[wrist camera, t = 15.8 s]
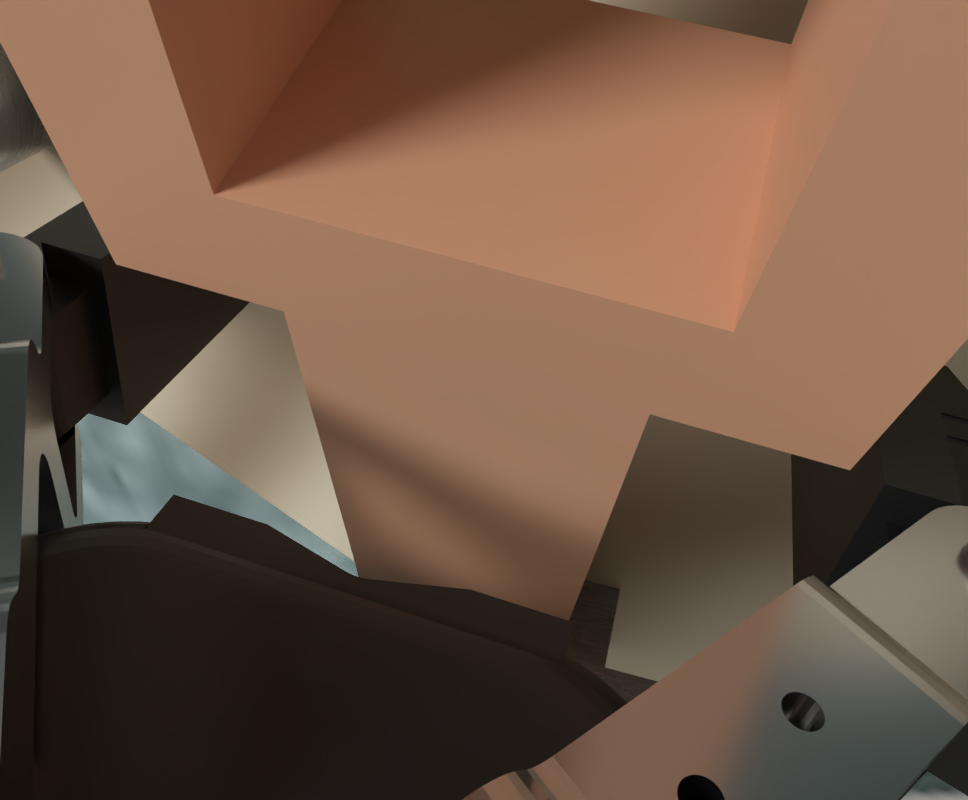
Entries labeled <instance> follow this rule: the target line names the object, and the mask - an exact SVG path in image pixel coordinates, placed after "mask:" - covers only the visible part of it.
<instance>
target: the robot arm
mask: <svg viewBox="0 0 968 800" xmlns="http://www.w3.org/2000/svg"><path fill="white" fill-rule="evenodd" d="M249 303H250V302H248V301H245V300H241V299H238V298H234V297H231V296H227V295H223V294H220V293H216V292H213V291H209V290H206V289H202V288H198V287H195V286H191V285H188V284H184V283H181V282H177V281H174V280H170V279H166V278H163V277H159V276H156V275H152V274H149V273H145V272H141V271H138V270H134V269H131V268H127V267H124V266H120V265H117V264H116V263H115V261H114V260H113V258H112V256H111V254H110V252H109V250H108V248H107V246H106V244H105V242H104V240H103V238H102V237H101V235H100V233H99V231H98V229H97V227H96V225H95V223H94V221H93V219H92V217H91V215H90V214H89V212H88V210H87V208H86V206H85V204H84V202H83V201H82V202H80V203H79V204H77V205H75V206H74V207H72V208H71V209H69V210H67V211H66V212H64V213H62V214H61V215H59V216H58V217H56V218H54V219H53V220H51V221H49V222H48V223H46V224H45V225H43V226H41V227H40V228H38V229H36V230H35V231H33V232H32V233H30V234H28V235H27V236H25V237H21V236H17V235H14V234H10V233H4V232H0V800H901V799H902V798H903V797H904V796H905V795H906V794H907V793H908V792H909V790H910V789H911V788H912V787H913V786H914V785H915V784H916V783H917V782H918V781H919V780H920V779H921V778H922V777H923V776H924V774H925V773H926V772H927V771H929V772H930V773H932V774H934V775H935V776H937V777H938V778H940V779H942V780H943V781H945V782H946V783H948V784H950V785H951V786H953V787H955V788H956V789H958V790H959V791H961V792H963V793H964V794H966V795H967V796H968V390H967V389H966V387H965V386H964V385H963V384H962V383H961V382H960V381H959V379H958V378H957V377H956V376H955V375H954V374H953V372H952V371H951V370H950V369H949V368H948V367H947V366H943V367H942V368H941V369H940V370H939V371H938V373H937V374H936V375H935V376H934V377H933V378H932V379H931V380H930V381H929V383H928V384H927V385H926V386H925V387H924V388H923V389H922V390H921V392H920V393H919V394H918V395H917V396H916V397H915V398H914V399H913V400H912V402H911V403H910V404H909V405H908V406H907V407H906V408H905V409H904V411H903V412H902V413H901V414H900V415H899V416H898V417H897V418H896V419H895V421H894V422H893V423H892V424H891V425H890V426H889V427H888V428H887V430H886V431H885V432H884V433H883V434H882V435H881V436H880V437H879V439H878V440H877V441H876V442H875V443H874V444H873V445H872V446H871V447H870V449H869V450H868V451H867V452H866V453H865V454H864V455H863V456H862V458H861V459H860V460H859V461H858V462H857V463H856V464H855V465H854V466H853V468H852V469H851V470H847V469H843V468H840V467H836V466H833V465H829V464H826V463H822V462H818V461H815V460H811V459H808V458H804V457H801V456H797V455H793V454H791V475H792V540H793V587H791V588H790V589H789V590H787V591H786V592H784V593H783V594H781V595H780V596H779V597H777V598H776V599H774V600H773V601H772V602H770V603H769V604H767V605H766V606H764V607H763V608H762V609H760V610H759V611H757V612H756V613H755V614H753V615H752V616H750V617H749V618H747V619H746V620H745V621H743V622H742V623H740V624H739V625H738V626H736V627H735V628H733V629H732V630H731V631H729V632H728V633H726V634H725V635H723V636H722V637H721V638H719V639H718V640H716V641H715V642H714V643H712V644H711V645H709V646H708V647H706V648H705V649H704V650H702V651H701V652H699V653H698V654H697V655H695V656H694V657H692V658H691V659H689V660H688V661H687V662H685V663H684V664H682V665H681V666H680V667H678V668H677V669H675V670H674V671H672V672H671V673H670V674H668V675H667V676H665V677H664V678H663V679H661V680H660V681H658V682H657V683H655V684H654V685H653V686H651V687H650V688H648V689H647V690H646V691H644V692H643V693H641V694H640V695H638V696H637V697H636V698H634V699H633V700H631V701H630V702H629V703H627V702H626V700H625V699H623V698H622V697H621V696H620V695H619V694H618V693H617V692H616V691H615V690H614V689H613V688H612V687H610V686H609V685H608V684H607V683H606V682H605V681H604V680H602V679H601V678H600V677H598V676H597V675H596V674H594V673H593V672H592V671H590V670H589V669H588V668H586V667H585V666H583V665H582V664H580V663H579V662H577V661H575V660H574V659H572V658H570V657H569V656H567V655H566V652H567V648H568V644H569V639H570V635H571V631H572V627H573V623H574V622H571V621H568V620H564V619H561V618H558V617H555V616H552V615H549V614H546V613H542V612H539V611H536V610H533V609H530V608H527V607H524V606H521V605H517V604H514V603H511V602H508V601H505V600H502V599H499V598H496V597H492V596H489V595H486V594H483V593H480V592H477V591H474V590H470V589H460V588H451V587H441V586H431V585H421V584H411V583H402V582H392V581H382V580H372V579H365V578H360V577H357V576H353V575H351V574H349V573H347V572H345V571H344V570H342V569H340V568H339V567H337V566H335V565H334V564H332V563H330V562H329V561H327V560H325V559H324V558H322V557H320V556H319V555H317V554H315V553H314V552H312V551H310V550H309V549H307V548H305V547H304V546H302V545H300V544H299V543H297V542H295V541H294V540H292V539H290V538H289V537H287V536H285V535H284V534H282V533H280V532H279V531H277V530H275V529H274V528H272V527H270V526H269V525H267V524H264V523H261V522H258V521H255V520H251V519H248V518H245V517H242V516H239V515H236V514H233V513H229V512H226V511H223V510H220V509H217V508H214V507H211V506H208V505H204V504H201V503H198V502H195V501H192V500H189V499H186V498H183V497H179V496H176V495H173V496H172V497H171V499H170V500H169V501H168V502H167V503H166V505H165V506H164V507H163V508H162V509H161V510H160V512H159V513H158V514H157V515H156V516H155V518H154V519H153V520H152V521H151V522H104V523H93V524H85V525H84V523H83V492H82V461H81V441H80V435H79V430H78V426H77V423H78V422H79V421H80V420H81V419H82V418H83V417H84V416H85V415H86V414H88V413H89V414H93V415H96V416H99V417H102V418H106V419H109V420H112V421H115V422H118V423H122V424H125V425H128V424H129V423H130V422H131V421H132V420H133V419H134V418H135V417H136V416H137V415H138V414H139V413H140V412H141V411H142V410H143V409H144V408H145V407H146V406H147V405H148V404H149V403H150V402H151V401H152V400H153V399H154V398H155V397H156V396H157V395H158V394H159V393H160V392H161V391H162V390H163V389H164V388H165V387H166V386H167V385H168V384H169V383H170V382H171V381H172V380H173V379H174V378H175V377H176V376H177V375H178V374H179V373H180V372H181V371H182V370H183V369H184V368H185V367H186V366H187V365H188V364H189V363H190V362H191V361H192V360H193V359H194V358H195V357H196V356H197V355H198V354H199V353H200V352H201V351H202V350H203V349H204V348H205V347H206V346H207V345H208V344H209V343H210V342H211V341H212V340H213V339H214V338H215V337H216V336H217V335H218V334H219V333H220V332H221V331H222V330H223V329H224V328H225V327H226V326H227V325H228V324H229V323H230V322H231V321H232V320H233V319H234V318H235V317H236V316H237V315H238V314H239V313H240V312H241V311H242V310H243V309H244V308H245V307H246V306H247V305H248V304H249Z"/></svg>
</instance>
